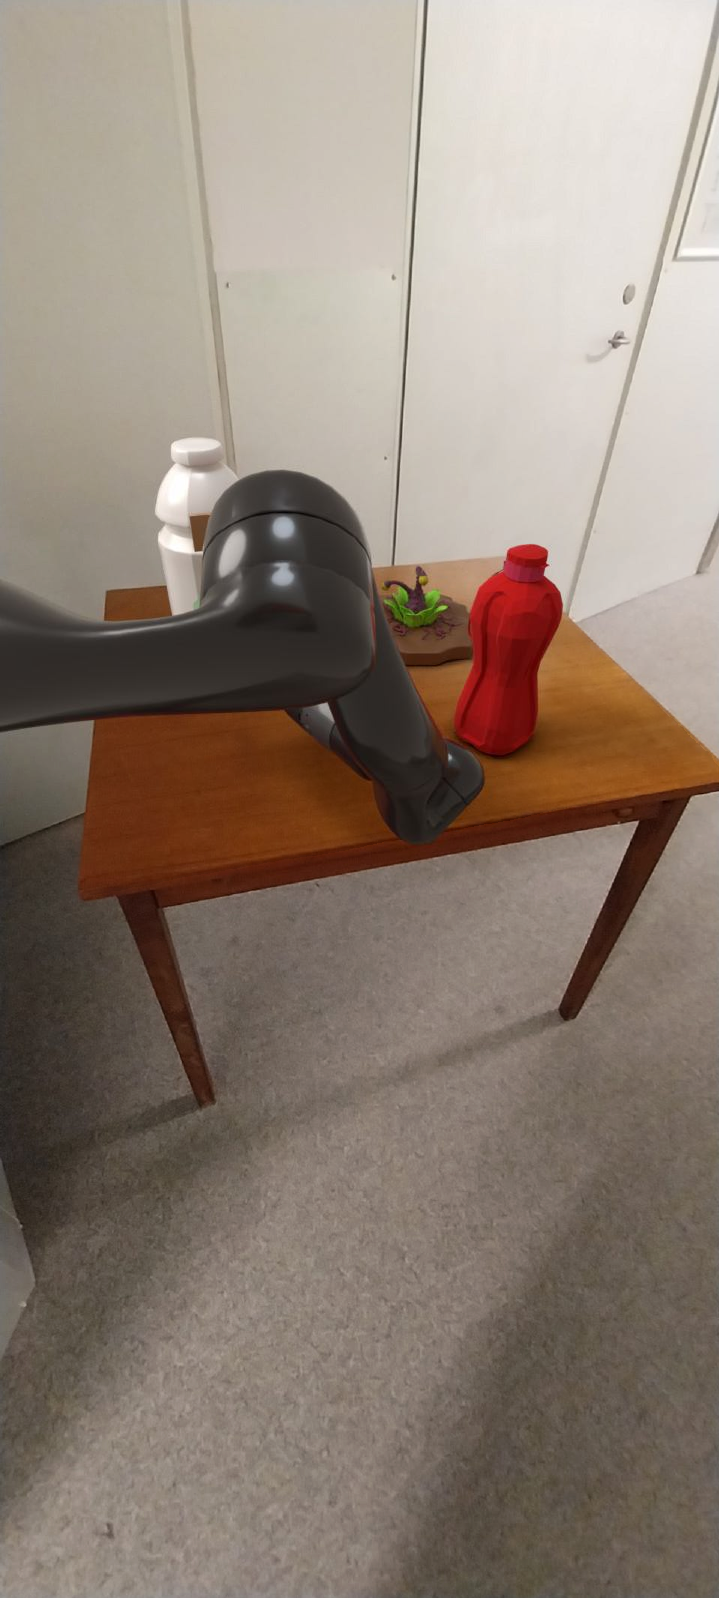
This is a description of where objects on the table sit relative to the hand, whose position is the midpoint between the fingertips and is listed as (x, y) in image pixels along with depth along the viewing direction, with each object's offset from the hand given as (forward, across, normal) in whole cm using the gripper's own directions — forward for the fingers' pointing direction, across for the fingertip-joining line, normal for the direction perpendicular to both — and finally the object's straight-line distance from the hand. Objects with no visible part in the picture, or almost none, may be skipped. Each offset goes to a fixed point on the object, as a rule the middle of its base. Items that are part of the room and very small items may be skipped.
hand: (257, 646), depth 82 cm
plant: (+6, -31, +11) cm, 34 cm away
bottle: (+22, -6, +11) cm, 25 cm away
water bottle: (-20, -23, +11) cm, 32 cm away
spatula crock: (+11, 0, +11) cm, 15 cm away
